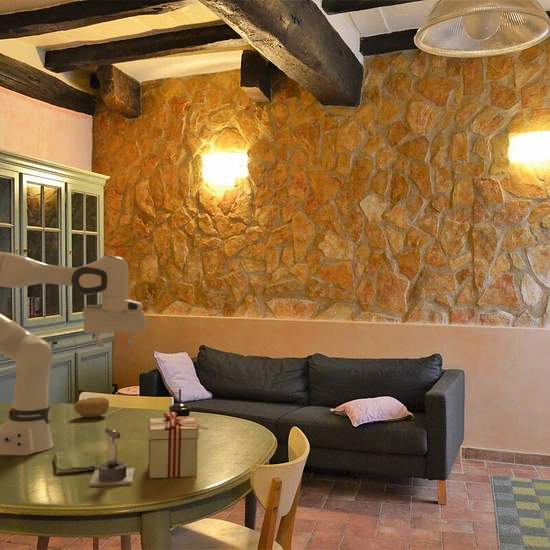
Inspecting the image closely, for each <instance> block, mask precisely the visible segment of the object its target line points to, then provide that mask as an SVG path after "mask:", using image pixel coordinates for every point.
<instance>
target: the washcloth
mask: <svg viewBox="0 0 550 550" xmlns="http://www.w3.org/2000/svg"><path fill="white" fill-rule="evenodd" d="M95 457H96V456H95V454H94V452H93V451H92V450H90V449H83V450H76V451H57V452H55V453H54V455H53V458H52V462H53V463H54V467H55V474H56V475H58V474H61V475H65V474H64V473H69V474H74V473H73V472H77V473H82V472H88V471H87V470H90V471H95V470H99V465H98V463H97V460H96V458H95ZM81 471H82V472H81Z"/></svg>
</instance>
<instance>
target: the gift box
mask: <svg viewBox="0 0 550 550" xmlns="http://www.w3.org/2000/svg"><path fill="white" fill-rule="evenodd" d="M163 415H164V417H163V418H162V417H160V418H159V417H157V418H148V465H147V469H148V472H149V479H165V478H186V477H198V440H199V434H200V433H199V429H203V430H208V429H209V428H208V427H204V426H203V425H200V424H199V423H197V421H196V418H195V417H194V415H189V416H188V417H181V416H179V417H177V413H176V412H170V411H168V412H163Z"/></svg>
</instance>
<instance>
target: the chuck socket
mask: <svg viewBox="0 0 550 550" xmlns="http://www.w3.org/2000/svg"><path fill="white" fill-rule="evenodd" d="M135 469H136V468H135V467H128V464H127V463H126V462H124V461H119V460H117V467H108V461H106V462H103V463H99V465H98V470H93V471H94V472H93V474H92V476H91V478H90V482H89V487H107V486H108V487H109V486H126V485H127V486H128V485H130V486H131V485H133V480H134V477H135V476H134V475H135Z"/></svg>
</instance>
